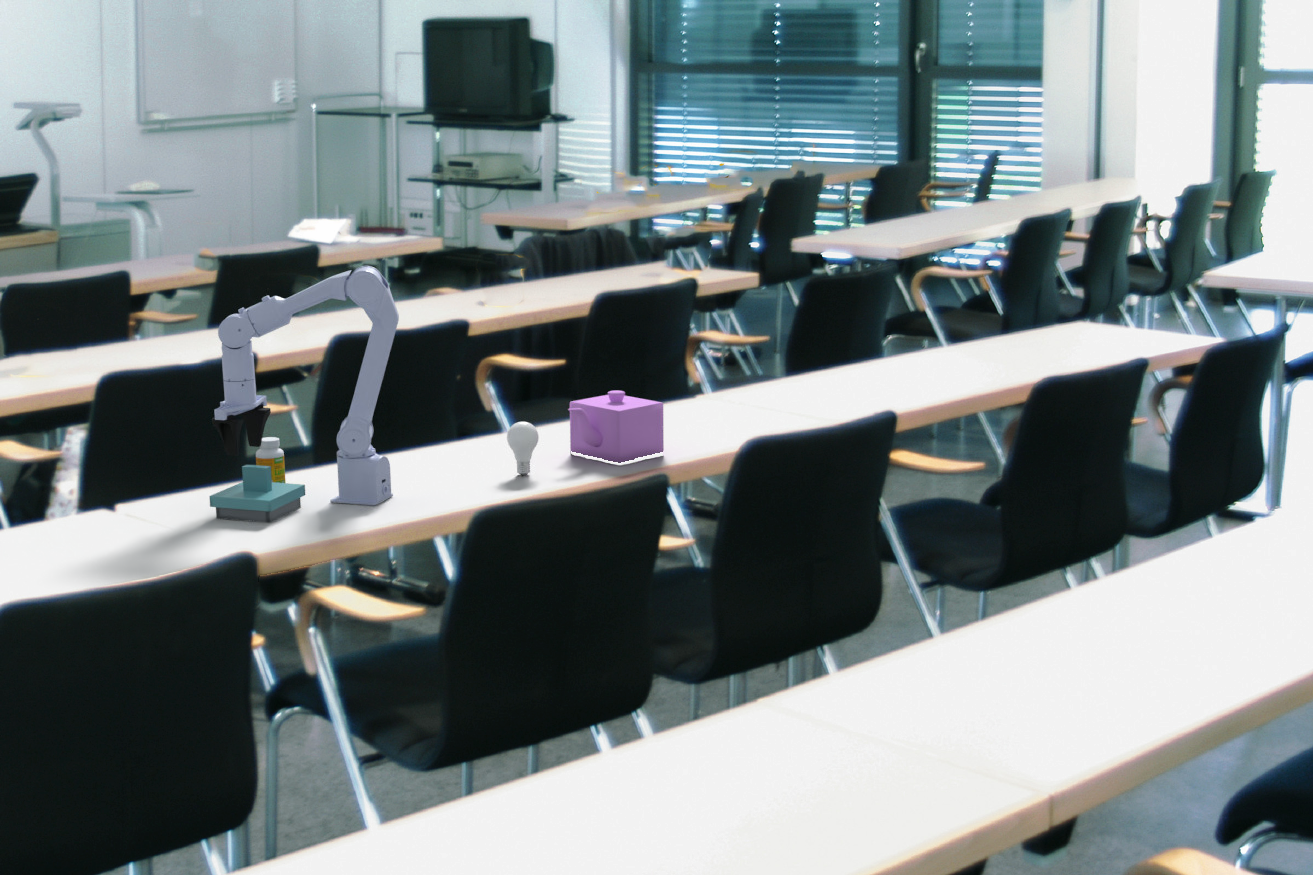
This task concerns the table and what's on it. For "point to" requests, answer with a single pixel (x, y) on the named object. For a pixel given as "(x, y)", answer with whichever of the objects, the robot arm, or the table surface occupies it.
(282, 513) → the tub
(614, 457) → the teapot
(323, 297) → the robot arm
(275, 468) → the supplement bottle
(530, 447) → the lightbulb
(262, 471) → the lid
